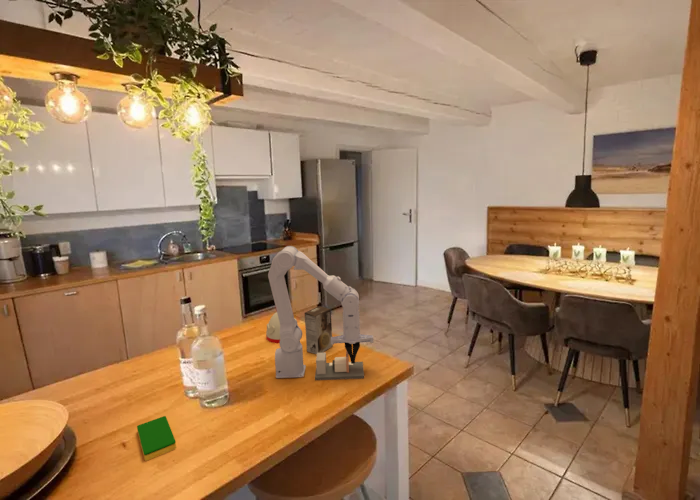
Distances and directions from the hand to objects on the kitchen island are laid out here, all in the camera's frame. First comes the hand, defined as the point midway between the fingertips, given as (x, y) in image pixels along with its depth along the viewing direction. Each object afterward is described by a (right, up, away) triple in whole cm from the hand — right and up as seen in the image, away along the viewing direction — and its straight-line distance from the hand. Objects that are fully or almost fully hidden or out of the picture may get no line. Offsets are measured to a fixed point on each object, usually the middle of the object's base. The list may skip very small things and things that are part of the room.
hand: (352, 362), depth 129 cm
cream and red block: (-4, -2, +1) cm, 5 cm away
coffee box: (-13, -1, +19) cm, 23 cm away
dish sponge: (-52, -12, -31) cm, 61 cm away
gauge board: (-5, -4, +1) cm, 6 cm away
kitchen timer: (-30, +1, +33) cm, 45 cm away
